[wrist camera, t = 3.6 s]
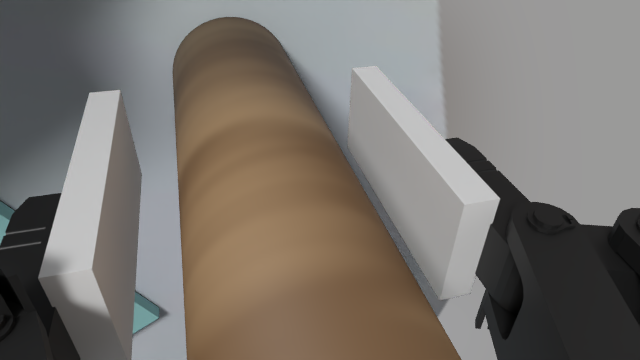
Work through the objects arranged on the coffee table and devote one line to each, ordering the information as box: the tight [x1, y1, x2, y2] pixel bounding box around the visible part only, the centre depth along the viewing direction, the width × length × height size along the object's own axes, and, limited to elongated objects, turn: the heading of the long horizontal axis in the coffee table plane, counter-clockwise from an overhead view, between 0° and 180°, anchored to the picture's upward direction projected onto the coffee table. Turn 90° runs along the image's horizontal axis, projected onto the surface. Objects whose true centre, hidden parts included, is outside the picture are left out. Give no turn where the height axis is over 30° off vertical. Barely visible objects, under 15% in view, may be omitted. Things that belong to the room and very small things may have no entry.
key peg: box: [173, 17, 461, 360], centre depth 11 cm, size 4×4×14 cm
